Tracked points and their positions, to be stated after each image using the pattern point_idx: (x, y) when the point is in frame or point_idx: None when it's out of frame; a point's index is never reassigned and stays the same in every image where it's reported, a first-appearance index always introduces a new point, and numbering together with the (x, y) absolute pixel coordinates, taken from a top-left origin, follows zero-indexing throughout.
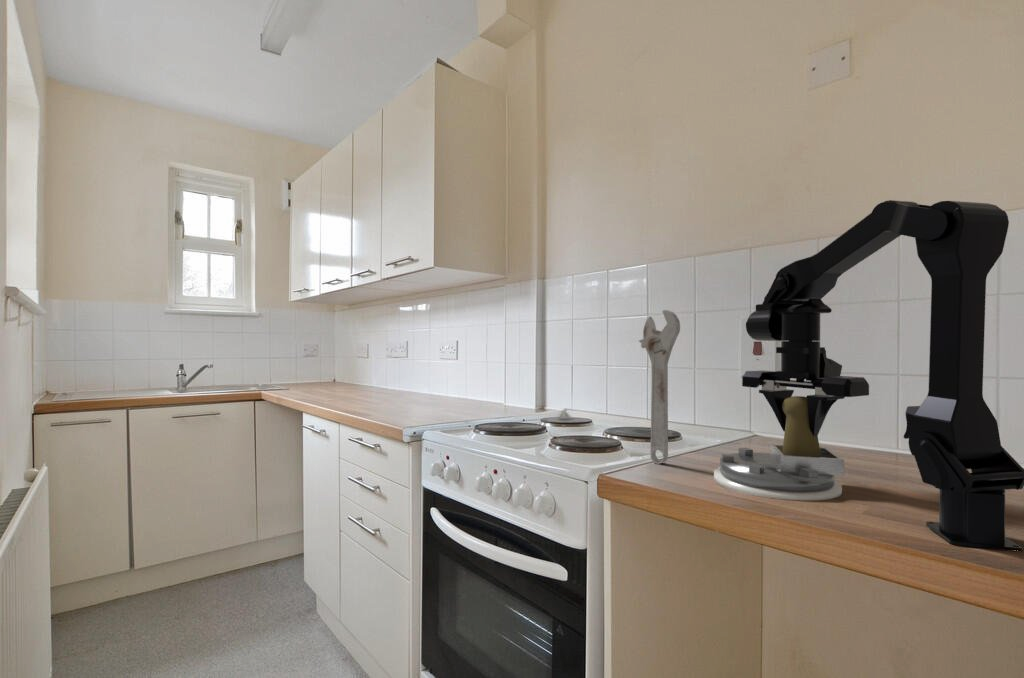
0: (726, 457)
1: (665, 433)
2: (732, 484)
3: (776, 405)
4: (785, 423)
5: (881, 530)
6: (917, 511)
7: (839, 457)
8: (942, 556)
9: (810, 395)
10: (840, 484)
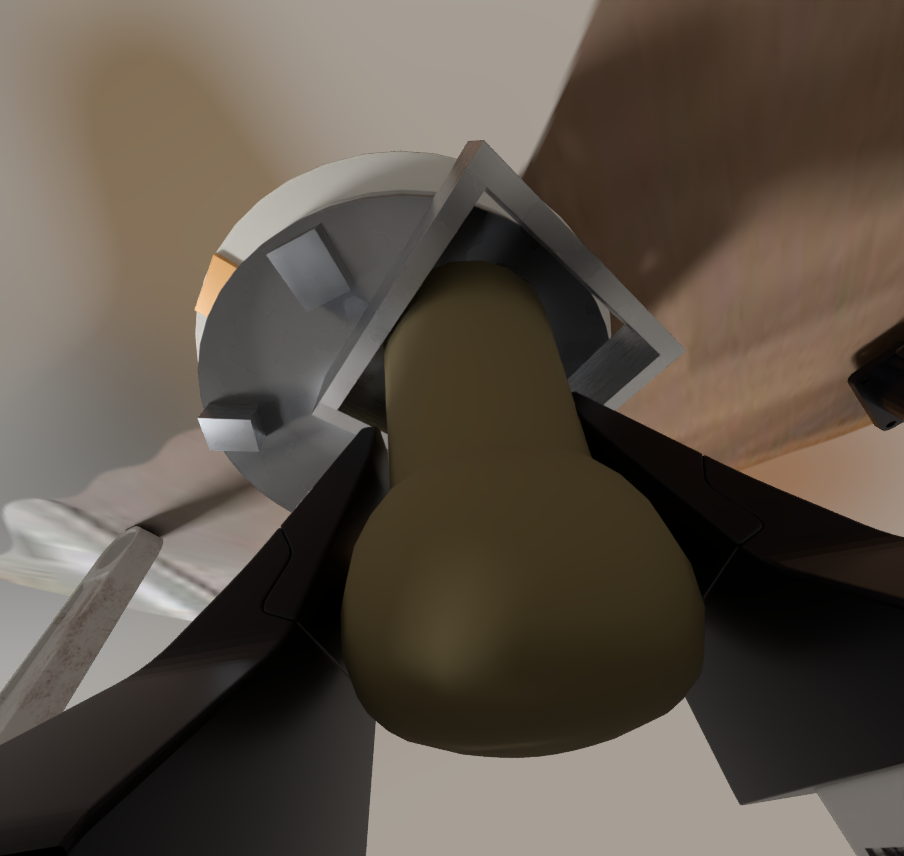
0: None
1: (101, 627)
2: None
3: None
4: (385, 492)
5: (743, 419)
6: (823, 187)
7: (656, 331)
8: (839, 427)
9: (774, 799)
10: None
